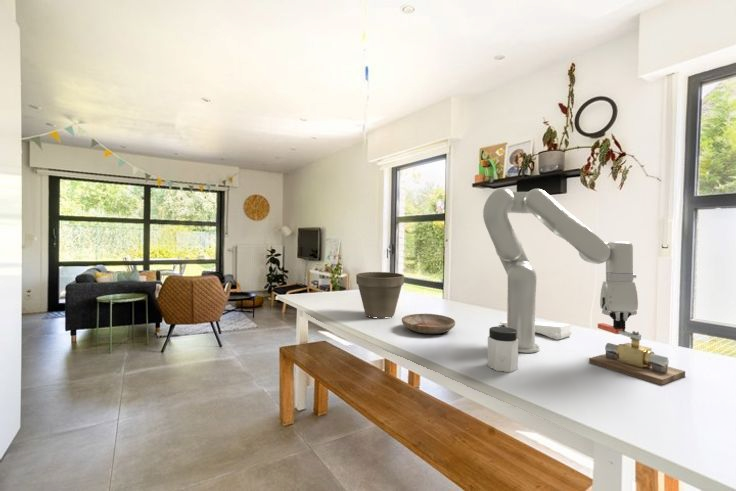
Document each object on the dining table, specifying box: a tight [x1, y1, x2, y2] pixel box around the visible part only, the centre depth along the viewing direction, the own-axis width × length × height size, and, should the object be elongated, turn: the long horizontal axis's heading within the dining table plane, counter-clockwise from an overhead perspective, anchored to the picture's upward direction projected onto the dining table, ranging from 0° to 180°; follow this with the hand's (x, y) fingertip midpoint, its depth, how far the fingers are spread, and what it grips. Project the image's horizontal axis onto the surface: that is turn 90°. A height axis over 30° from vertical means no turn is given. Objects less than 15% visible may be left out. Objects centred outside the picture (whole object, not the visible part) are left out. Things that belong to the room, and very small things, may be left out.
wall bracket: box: [499, 320, 573, 340], centre depth 157 cm, size 10×7×28 cm
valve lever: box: [597, 322, 642, 341], centre depth 118 cm, size 15×3×2 cm, turn 7°
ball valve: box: [604, 339, 669, 374], centre depth 112 cm, size 5×16×8 cm, turn 28°
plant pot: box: [355, 271, 405, 318], centre depth 185 cm, size 25×25×22 cm
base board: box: [588, 353, 686, 386], centre depth 112 cm, size 14×20×2 cm
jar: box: [486, 326, 519, 373], centre depth 112 cm, size 9×8×12 cm
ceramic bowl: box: [401, 313, 456, 335], centre depth 157 cm, size 23×24×5 cm
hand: (619, 331), depth 121 cm, fingers closed
